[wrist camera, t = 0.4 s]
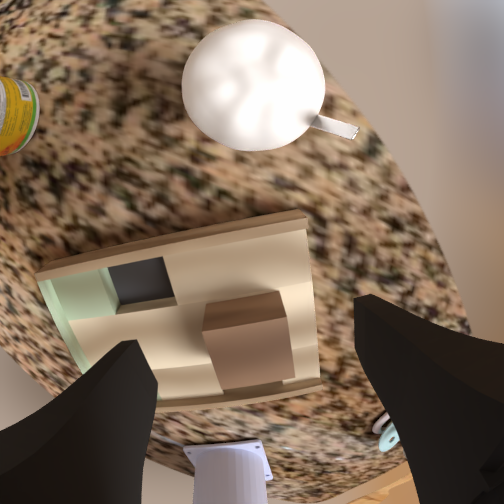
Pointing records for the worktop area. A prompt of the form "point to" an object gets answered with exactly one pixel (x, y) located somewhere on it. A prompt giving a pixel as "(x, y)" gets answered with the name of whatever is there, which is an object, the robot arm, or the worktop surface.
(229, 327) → the walnut block
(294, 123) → the milkshake
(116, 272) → the tray
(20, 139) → the supplement bottle
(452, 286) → the worktop surface
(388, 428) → the pacifier
